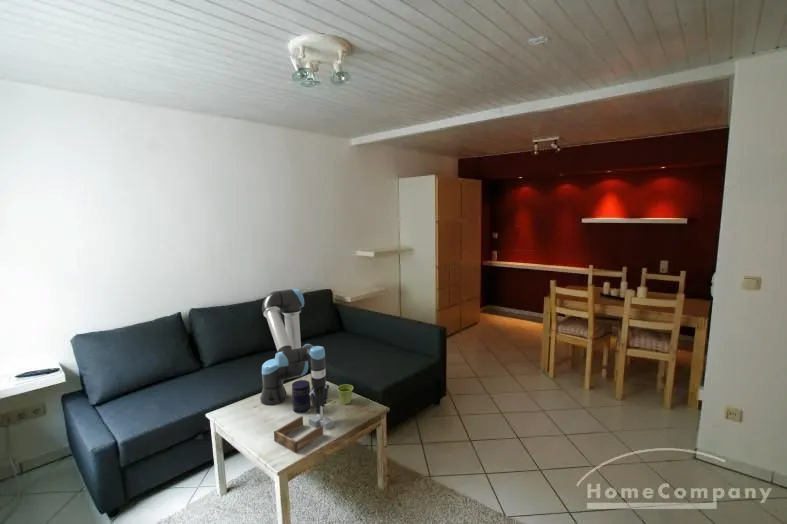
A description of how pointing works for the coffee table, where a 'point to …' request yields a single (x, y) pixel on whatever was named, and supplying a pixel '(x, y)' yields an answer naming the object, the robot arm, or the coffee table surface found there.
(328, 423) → the tile
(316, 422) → the tile
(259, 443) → the coffee table surface
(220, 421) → the coffee table surface
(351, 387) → the plant pot
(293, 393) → the storage jar
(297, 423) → the frame
